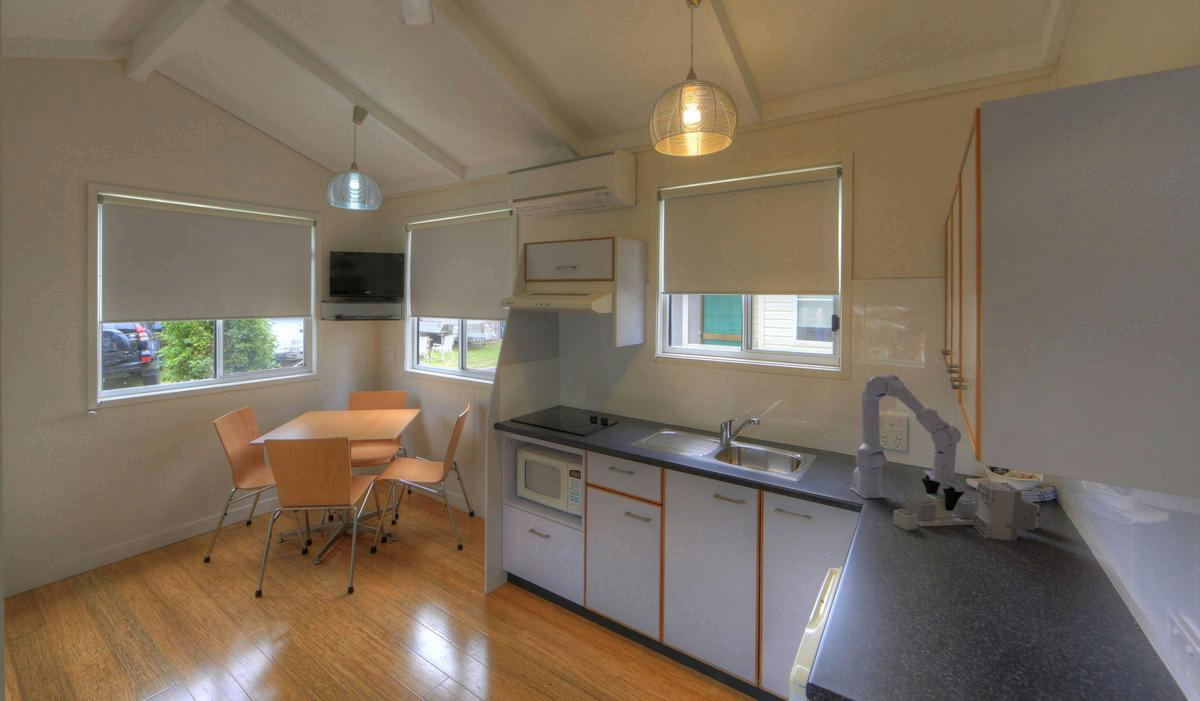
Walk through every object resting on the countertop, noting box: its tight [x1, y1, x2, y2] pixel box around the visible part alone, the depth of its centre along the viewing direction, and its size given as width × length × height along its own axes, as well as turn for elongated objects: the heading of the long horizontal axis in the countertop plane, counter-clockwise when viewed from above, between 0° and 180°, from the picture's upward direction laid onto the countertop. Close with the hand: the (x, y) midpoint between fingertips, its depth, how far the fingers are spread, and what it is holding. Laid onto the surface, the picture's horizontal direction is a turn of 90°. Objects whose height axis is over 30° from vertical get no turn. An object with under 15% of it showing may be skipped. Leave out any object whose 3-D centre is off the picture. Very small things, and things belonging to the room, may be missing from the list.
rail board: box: [904, 495, 978, 527], centre depth 168 cm, size 9×20×7 cm, turn 96°
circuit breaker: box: [972, 480, 1040, 542], centre depth 157 cm, size 8×14×15 cm, turn 78°
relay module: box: [925, 493, 953, 518], centre depth 168 cm, size 4×6×6 cm
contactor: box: [892, 508, 918, 531], centre depth 163 cm, size 5×4×5 cm
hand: (940, 505), depth 168 cm, fingers open, 7 cm apart
